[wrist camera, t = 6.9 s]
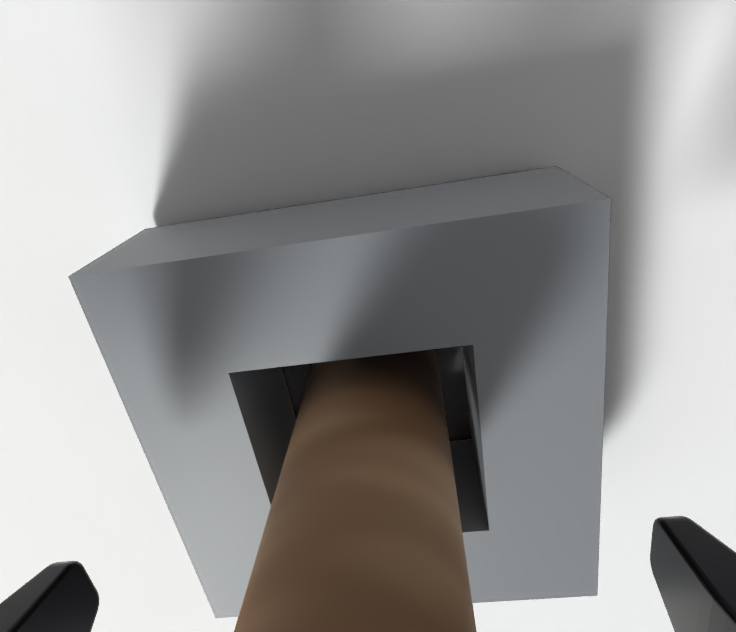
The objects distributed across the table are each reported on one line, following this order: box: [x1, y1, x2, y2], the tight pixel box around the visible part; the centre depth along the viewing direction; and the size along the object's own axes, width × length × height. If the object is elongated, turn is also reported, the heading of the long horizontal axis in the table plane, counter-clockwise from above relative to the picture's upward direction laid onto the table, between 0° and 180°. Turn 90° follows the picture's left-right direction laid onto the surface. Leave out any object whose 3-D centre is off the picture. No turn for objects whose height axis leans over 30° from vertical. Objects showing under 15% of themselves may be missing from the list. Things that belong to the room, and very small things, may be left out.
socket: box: [68, 166, 611, 618], centre depth 12 cm, size 9×9×3 cm
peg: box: [234, 349, 476, 632], centre depth 9 cm, size 3×3×8 cm
